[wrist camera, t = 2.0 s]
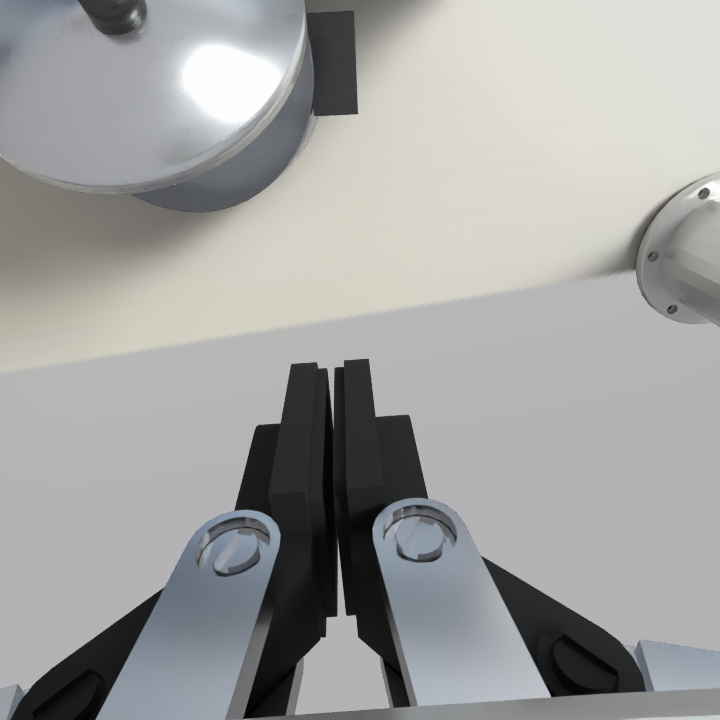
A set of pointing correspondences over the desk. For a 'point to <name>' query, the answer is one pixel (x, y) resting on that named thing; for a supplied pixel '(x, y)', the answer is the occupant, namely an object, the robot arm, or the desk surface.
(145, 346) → the desk surface
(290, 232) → the desk surface
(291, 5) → the lid
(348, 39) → the pot
